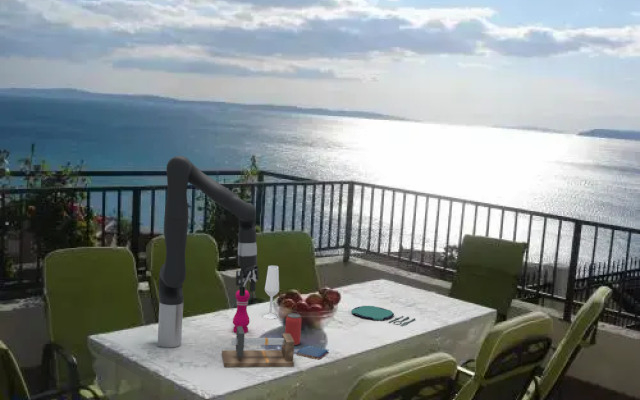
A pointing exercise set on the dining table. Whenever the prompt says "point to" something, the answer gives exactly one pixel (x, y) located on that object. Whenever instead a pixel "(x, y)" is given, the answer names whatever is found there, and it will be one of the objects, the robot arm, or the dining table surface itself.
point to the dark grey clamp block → (240, 341)
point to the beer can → (294, 327)
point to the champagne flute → (272, 287)
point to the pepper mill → (241, 312)
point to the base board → (262, 356)
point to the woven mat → (312, 352)
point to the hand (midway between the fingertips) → (247, 293)
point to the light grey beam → (260, 341)
